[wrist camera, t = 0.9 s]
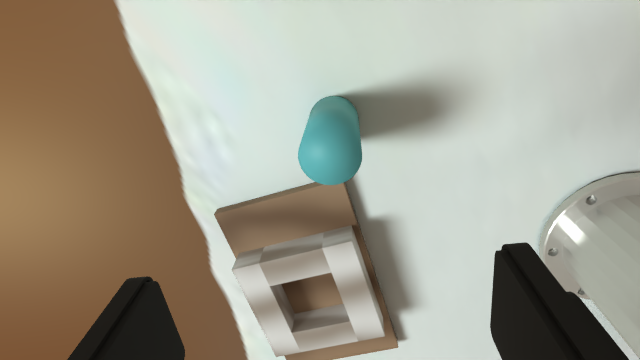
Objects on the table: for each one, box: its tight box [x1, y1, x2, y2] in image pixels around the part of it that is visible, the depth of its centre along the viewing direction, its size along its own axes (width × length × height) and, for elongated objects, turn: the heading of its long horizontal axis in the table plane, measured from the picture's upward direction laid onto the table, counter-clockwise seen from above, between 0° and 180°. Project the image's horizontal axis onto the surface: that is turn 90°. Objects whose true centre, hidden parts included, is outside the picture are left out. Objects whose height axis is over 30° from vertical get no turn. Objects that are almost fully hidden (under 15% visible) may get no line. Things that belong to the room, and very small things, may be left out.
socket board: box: [214, 182, 398, 360], centre depth 37 cm, size 20×12×4 cm, turn 18°
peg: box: [298, 96, 362, 185], centre depth 28 cm, size 4×4×8 cm
